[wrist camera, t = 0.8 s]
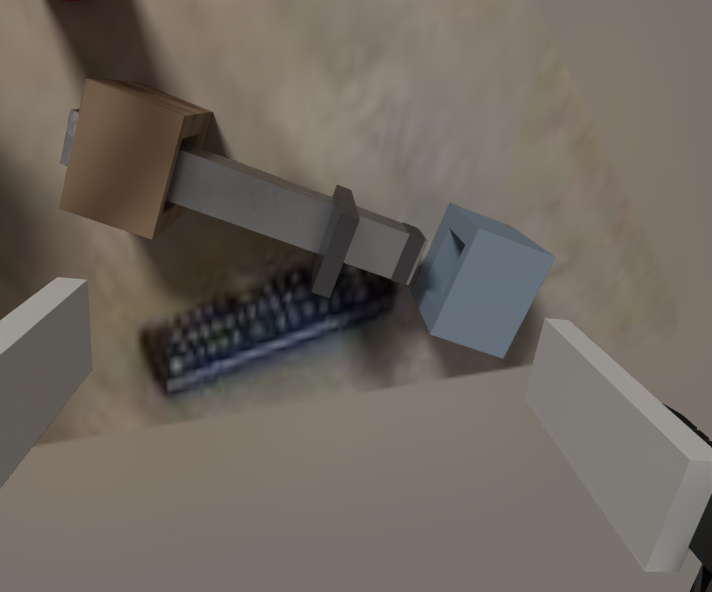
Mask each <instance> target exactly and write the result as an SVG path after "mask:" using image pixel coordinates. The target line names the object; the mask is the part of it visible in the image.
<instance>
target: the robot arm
mask: <svg viewBox="0 0 712 592" xmlns="http://www.w3.org/2000/svg"><path fill="white" fill-rule="evenodd" d="M91 370H92V358H91V340H90V322H89V304H88V286H87V280H84V279H72V278H60V277H57V278H56V279H54V280H53V281H52V282H50V283H49V284H48V285H46V286H45V287H44V288H42V289H41V290H40V291H38V292H37V293H36V294H34V295H33V296H32V297H30V298H29V299H28V300H26V301H25V302H24V303H22V304H21V305H20V306H19V307H17V308H16V309H15V310H13V311H12V312H11V313H9V314H8V315H7V316H5V317H4V318H3V319H1V320H0V488H1V487H2V486H3V484H4V483H5V482H6V480H7V479H8V478H9V476H10V475H11V474H12V473H13V471H14V470H15V469H16V467H17V466H18V465H19V463H20V462H21V461H22V460H23V458H24V457H25V456H26V454H27V453H28V452H29V451H30V449H31V448H32V447H33V445H34V444H35V443H36V441H37V440H38V439H39V438H40V436H41V435H42V434H43V432H44V431H45V430H46V428H47V427H48V426H49V425H50V423H51V422H52V421H53V419H54V418H55V417H56V416H57V414H58V413H59V412H60V410H61V409H62V408H63V406H64V405H65V404H66V403H67V401H68V400H69V399H70V397H71V396H72V395H73V393H74V392H75V391H76V390H77V388H78V387H79V386H80V384H81V383H82V382H83V380H84V379H85V378H86V377H87V375H88V374H89V373H90V371H91ZM524 399H525V400H526V402H527V403H528V404H529V406H530V407H531V409H532V410H533V411H534V413H535V414H536V416H537V417H538V419H539V420H540V422H541V423H542V424H543V426H544V427H545V429H546V430H547V432H548V433H549V435H550V436H551V437H552V439H553V440H554V442H555V443H556V444H557V446H558V447H559V449H560V450H561V452H562V453H563V455H564V456H565V458H566V459H567V460H568V462H569V463H570V465H571V466H572V468H573V469H574V470H575V472H576V473H577V475H578V476H579V478H580V479H581V481H582V482H583V483H584V485H585V486H586V488H587V489H588V490H589V492H590V494H591V495H592V496H593V498H594V499H595V501H596V502H597V504H598V505H599V506H600V508H601V509H602V511H603V512H604V514H605V515H606V516H607V518H608V519H609V521H610V522H611V524H612V525H613V527H614V528H615V529H616V531H617V532H618V534H619V535H620V537H621V538H622V540H623V541H624V542H625V544H626V545H627V547H628V548H629V549H630V551H631V552H632V554H633V555H634V557H635V558H636V559H637V561H638V563H639V564H640V565H641V567H642V568H643V570H644V571H649V572H679V571H680V569H681V566H682V564H683V562H684V560H685V557H686V555H687V553H688V551H689V549H691V551H692V552H693V553H694V554H695V555H696V557H697V558H698V559H699V560H700V561H701V563H702V566H701V568H700V570H699V573H698V575H697V577H696V579H695V581H694V584H693V586H692V588H691V590H690V592H712V441H709V438H708V437H707V436H706V435H705V434H704V433H702V432H701V431H700V430H697V427H696V426H694V425H693V424H692V423H691V422H690V421H689V420H688V419H686V418H685V417H684V416H683V415H682V414H680V413H678V412H677V411H675V410H673V409H671V408H670V407H668V406H666V405H665V404H663V403H661V402H660V401H659V400H657V399H656V398H655V397H654V396H653V395H652V394H651V393H650V392H648V391H647V390H646V389H645V388H644V387H643V386H641V384H640V383H638V382H637V381H636V380H635V379H634V378H633V377H632V376H630V375H629V374H628V373H627V372H626V371H625V370H624V369H623V368H622V367H620V366H619V365H618V364H617V363H616V362H615V361H614V360H613V359H612V358H610V357H609V356H608V355H607V354H606V353H605V352H604V351H603V350H601V349H600V348H599V347H598V346H597V345H596V344H595V343H594V342H592V341H591V340H590V339H589V338H588V337H587V336H586V335H585V334H583V333H582V332H581V331H580V330H579V329H578V328H577V327H576V326H575V325H573V324H572V323H571V322H570V321H569V320H558V319H546V318H545V320H544V323H543V327H542V331H541V335H540V338H539V342H538V346H537V350H536V353H535V357H534V361H533V365H532V368H531V372H530V376H529V380H528V383H527V387H526V391H525V395H524Z"/></svg>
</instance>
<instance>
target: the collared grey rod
mask: <svg viewBox="0 0 712 592" xmlns="http://www.w3.org/2000/svg"><path fill="white" fill-rule="evenodd" d="M78 114H79V109H72V110H70V115H69V120H68V126H67V131H66V136H65V141H64V146H63V151H62V156H61V161H60V163H61V164H63V165H66V166H68V163H69V158H70V153H71V149H72V144H73V139H74V134H75V129H76V124H77V119H78ZM166 201H169V202H172V203H175V204H178V205H180V206H183V207H186V208H189V209H192V210H195V211H198V212H200V213H203V214H206V215H209V216H212V217H215V218H218V219H220V220H223V221H226V222H229V223H232V224H235V225H238V226H240V227H243V228H246V229H249V230H252V231H255V232H258V233H260V234H263V235H266V236H269V237H272V238H275V239H278V240H280V241H283V242H286V243H289V244H292V245H295V246H298V247H300V248H303V249H306V250H309V251H312V252H314V259H313V274H312V289H311V292H312V293H315V294H318V295H321V296H324V297H327V298H330V296H331V293H332V290H333V288H334V285H335V283H336V280H337V278H338V275H339V272H340V270H341V267H342V265H343V263H346V264H349V265H352V266H355V267H357V268H360V269H363V270H366V271H369V272H372V273H375V274H377V275H380V276H383V277H386V278H389V279H390V280H392V281H394V282H397V283H400V284H403V285H409V283H410V281H411V279H412V276H413V274H414V272H415V270H416V267H417V265H418V263H419V260H420V258H421V256H422V254H423V251H424V249H425V247H426V244H427V242H428V241H427V239H426V238H425V236H424V235H423V234H422V232H421V231H420V230H419V229H418V228H417V227H414V226H411V225H409V224H406V223H401V222H398V221H395V220H393V219H390V218H387V217H384V216H382V215H379V214H376V213H374V212H371V211H368V210H366V209H363V208H360V207H358V206H356V205H355V201H354V198H353V194H352V191H351V190H350V189H347V188H344V187H342V186H339V185H337V186H336V189H335V191H334V194H333V197H331V196H328V195H325V194H323V193H320V192H317V191H314V190H312V189H309V188H306V187H304V186H301V185H298V184H296V183H293V182H290V181H288V180H285V179H282V178H279V177H277V176H274V175H271V174H269V173H266V172H263V171H261V170H258V169H255V168H253V167H250V166H247V165H244V164H242V163H239V162H236V161H234V160H231V159H228V158H226V157H223V156H220V155H218V154H215V153H212V152H209V151H207V150H204V149H201V148H199V147H196V146H193V145H191V144H188V143H185V142H183V141H181V144H180V148H179V151H178V155H177V159H176V163H175V166H174V170H173V174H172V178H171V181H170V185H169V189H168V193H167V197H166Z"/></svg>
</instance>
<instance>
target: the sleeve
mask: <svg viewBox="0 0 712 592" xmlns="http://www.w3.org/2000/svg"><path fill="white" fill-rule="evenodd" d="M211 116H212V111H209V110H207V109H204V108H202V107H199V106H196V105H194V104H191V103H189V102H186V101H183V100H181V99H178V98H176V97H173V96H170V95H168V94H165V93H163V92H160V91H157V90H155V89H152V88H150V87H147V86H144V85H142V84H139V83H137V82H130V81H116V80H102V79H89V78H86V79H85V84H84V89H83V94H82V99H81V104H80V109H79V114H78V119H77V124H76V129H75V134H74V139H73V144H72V149H71V153H70V158H69V163H68V168H67V173H66V178H65V183H64V188H63V193H62V198H61V203H60V208H59V209H62V210H65V211H68V212H71V213H74V214H77V215H80V216H83V217H86V218H89V219H91V220H94V221H97V222H100V223H103V224H106V225H109V226H112V227H115V228H118V229H121V230H124V231H127V232H130V233H133V234H136V235H139V236H142V237H145V238H148V239H151V240H152V239H153V238H154V237H156V236H157V235H158V234H159V233H160V232H162V231H163V230H164V229H165V228H166V227H168V226H169V225H170V224H171V223H172V222H174V221H175V220H176V219H177V218H178V217H180V216H181V215H182V214H183V213H184V212H185V209H186V207H183V206H180V205H178V204H175V203H172V202H169V201H166V197H167V193H168V189H169V185H170V181H171V178H172V174H173V170H174V166H175V163H176V159H177V155H178V151H179V148H180V144H181V141H183V142H185V143H188V144H191V145H193V146H196V147H199V148H201V149H202V148H203V144H204V141H205V137H206V134H207V130H208V126H209V123H210V119H211Z"/></svg>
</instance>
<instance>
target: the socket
mask: <svg viewBox="0 0 712 592" xmlns="http://www.w3.org/2000/svg"><path fill="white" fill-rule="evenodd" d="M555 258H556V257H555V256H553V255H552V254H550V253H549V252H547V251H546V250H545V249H543V248H542V247H540V246H539V245H537V244H536V243H534V242H533V241H532V240H530V239H529V238H527V237H526V236H524V235H523V234H522V233H520V232H519V231H517V230H516V229H514V228H513V227H511V226H508V225H506V224H503V223H500V222H498V221H495V220H493V219H490V218H487V217H485V216H482V215H480V214H477V213H474V212H472V211H469V210H467V209H464V208H461V207H459V206H456V205H454V204H451V203H450V204H449V206H448V208H447V210H446V213H445V215H444V217H443V220H442V222H441V224H440V226H439V229H438V231H437V233H436V235H435V238H434V240H433V242H432V245H431V247H430V249H429V251H428V254H427V256H426V258H425V261H424V263H423V265H422V267H421V270H420V272H419V274H418V276H417V279H416V281H415V283H414V286H413V288H412V290H411V293H412V295H413V297H414V299H415V302H416V304H417V306H418V308H419V311H420V313H421V315H422V317H423V320H424V322H425V324H426V326H427V329H428V331H429V333H430V335H433V336H436V337H439V338H442V339H445V340H448V341H451V342H454V343H457V344H460V345H463V346H466V347H469V348H472V349H475V350H478V351H481V352H484V353H487V354H490V355H493V356H496V357H499V358H502V359H503V358H504V356H505V354H506V352H507V350H508V348H509V346H510V344H511V342H512V341H513V339H514V337H515V335H516V333H517V331H518V329H519V327H520V325H521V323H522V321H523V319H524V318H525V316H526V314H527V312H528V310H529V308H530V306H531V304H532V302H533V300H534V298H535V296H536V295H537V293H538V291H539V289H540V287H541V285H542V283H543V281H544V279H545V277H546V275H547V273H548V272H549V270H550V268H551V266H552V264H553V262H554V260H555Z"/></svg>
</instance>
